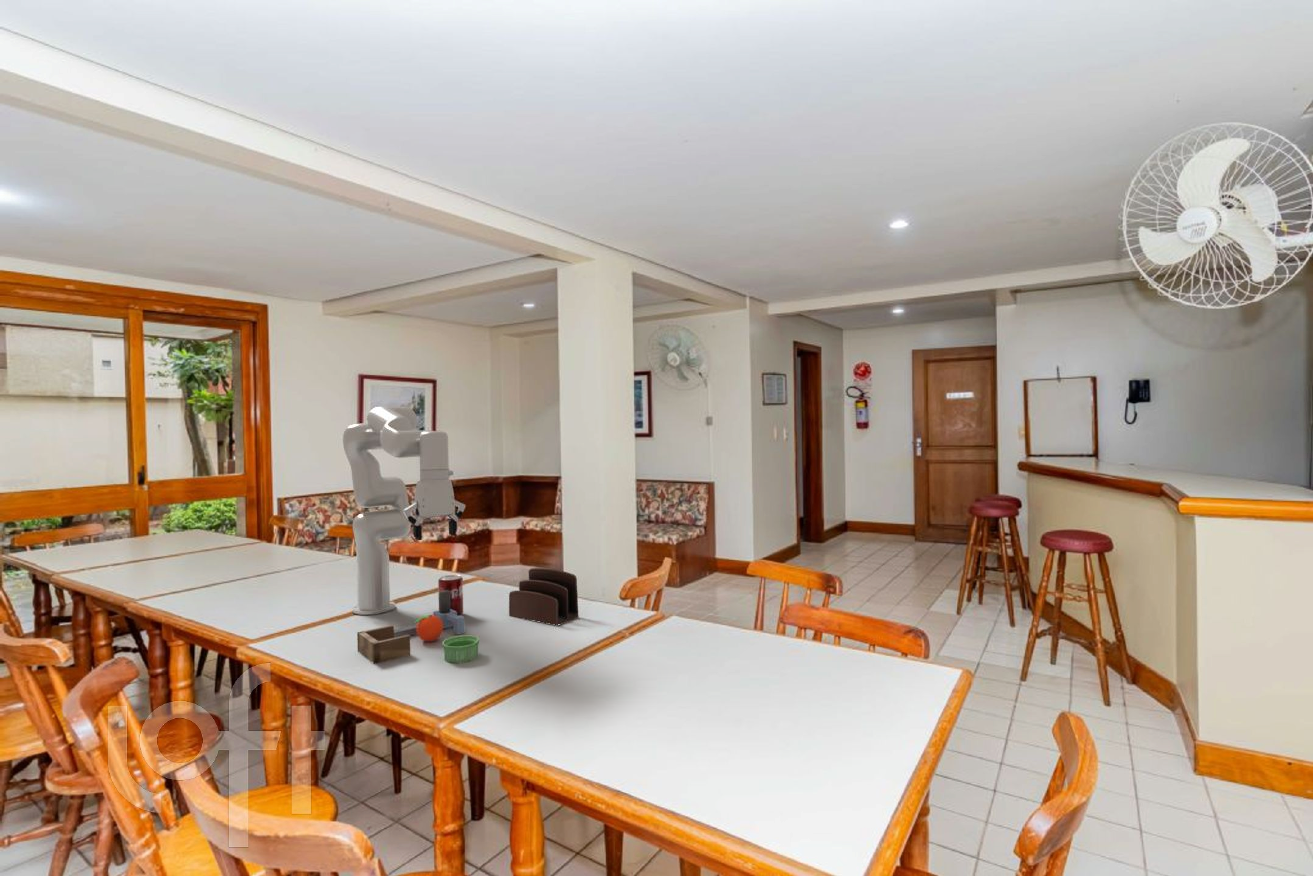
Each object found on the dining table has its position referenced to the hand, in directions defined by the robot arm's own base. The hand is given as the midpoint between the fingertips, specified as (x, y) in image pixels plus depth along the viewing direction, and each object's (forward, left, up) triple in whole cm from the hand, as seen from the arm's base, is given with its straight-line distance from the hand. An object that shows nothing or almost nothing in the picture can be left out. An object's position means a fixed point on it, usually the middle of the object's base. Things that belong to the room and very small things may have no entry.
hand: (435, 537), depth 179 cm
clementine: (+1, -3, -28) cm, 28 cm away
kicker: (-4, +6, -28) cm, 29 cm away
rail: (-8, -2, -28) cm, 29 cm away
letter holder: (+4, +32, -28) cm, 43 cm away
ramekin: (+19, -2, -28) cm, 34 cm away
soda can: (-17, +12, -28) cm, 35 cm away
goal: (+2, -15, -28) cm, 32 cm away
